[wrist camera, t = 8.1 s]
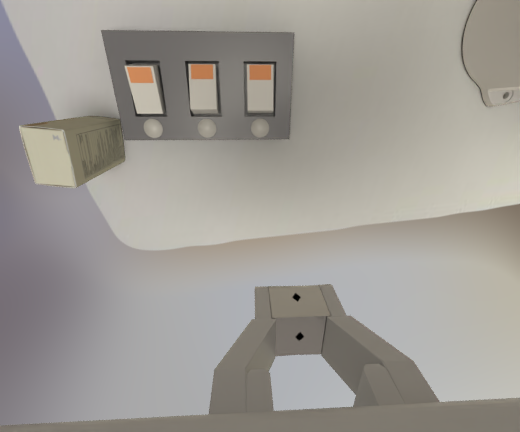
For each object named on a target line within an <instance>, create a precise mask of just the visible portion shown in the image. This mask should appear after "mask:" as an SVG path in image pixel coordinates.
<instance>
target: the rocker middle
mask: <svg viewBox="0 0 520 432" xmlns="http://www.w3.org/2000/svg"><path fill="white" fill-rule="evenodd" d="M188 66H189V89H190V109H191V111H192V112H193V113H194V114H219V113H218V81H217V69H216V65H215V64H188Z"/></svg>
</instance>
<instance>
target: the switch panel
mask: <svg viewBox="0 0 520 432" xmlns="http://www.w3.org/2000/svg"><path fill="white" fill-rule="evenodd" d="M101 32H102V37H103V41H104V46H105V51H106V55H107V60H108V64H109V69H110V74H111V78H112V83H113V88H114V92H115V97H116V102H117V106H118V111H119V115H120V120H121V125H122V129H123V134H124V139H125V140H240V139H289V135H290V113H291V92H292V71H293V50H294V33H286V32H206V31H125V30H101ZM130 64H151V65H158V70H159V75H160V80H161V85H162V90H163V95H164V100H165V105H166V111H165V112H164V113H163V114H137V111H136V107H135V104H134V100H133V96H132V92H131V89H130V85H129V81H128V78H127V74H126V70H125V66H126V65H130ZM188 64H215V65H216V69H217V81H218V113H219V114H194V113H193V112H192V111H191V109H190V89H189V66H188ZM247 64H263V65H273V112H272V113H248V98H247Z"/></svg>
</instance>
